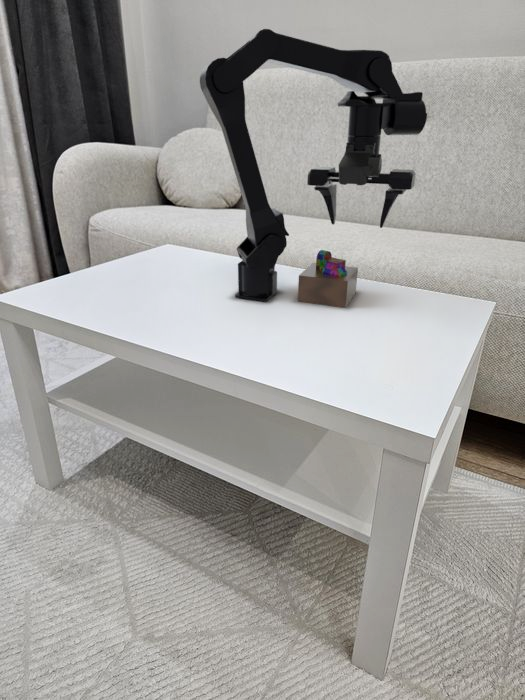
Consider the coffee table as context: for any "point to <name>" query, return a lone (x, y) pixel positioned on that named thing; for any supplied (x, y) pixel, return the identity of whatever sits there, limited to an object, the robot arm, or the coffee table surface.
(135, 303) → the coffee table surface
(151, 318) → the coffee table surface
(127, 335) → the coffee table surface
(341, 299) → the walnut block
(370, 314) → the coffee table surface
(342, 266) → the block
